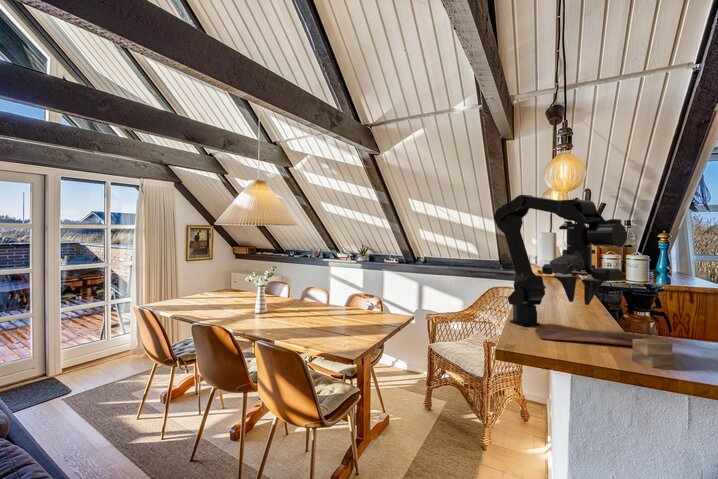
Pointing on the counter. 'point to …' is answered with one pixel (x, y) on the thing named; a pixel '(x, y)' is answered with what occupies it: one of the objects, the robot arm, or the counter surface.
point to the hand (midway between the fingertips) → (578, 303)
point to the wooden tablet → (588, 336)
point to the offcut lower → (652, 359)
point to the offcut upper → (652, 347)
